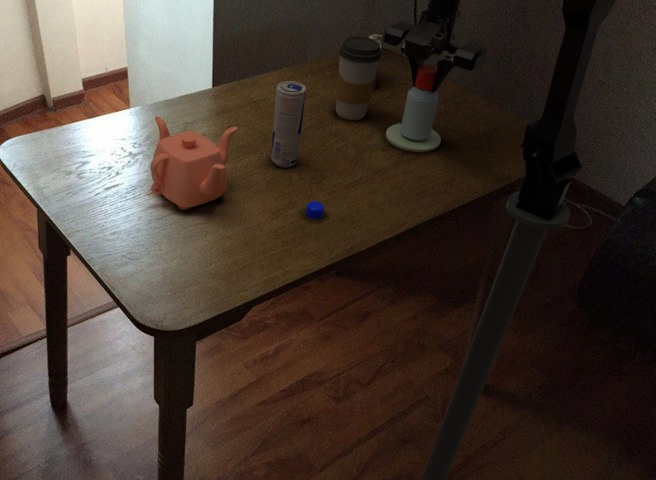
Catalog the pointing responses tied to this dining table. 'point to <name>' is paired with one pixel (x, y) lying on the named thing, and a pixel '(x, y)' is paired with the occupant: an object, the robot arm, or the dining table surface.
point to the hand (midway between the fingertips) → (424, 89)
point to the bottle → (419, 113)
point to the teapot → (189, 166)
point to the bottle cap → (314, 210)
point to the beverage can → (287, 123)
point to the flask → (376, 37)
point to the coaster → (412, 140)
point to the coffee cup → (356, 76)
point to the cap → (425, 77)
